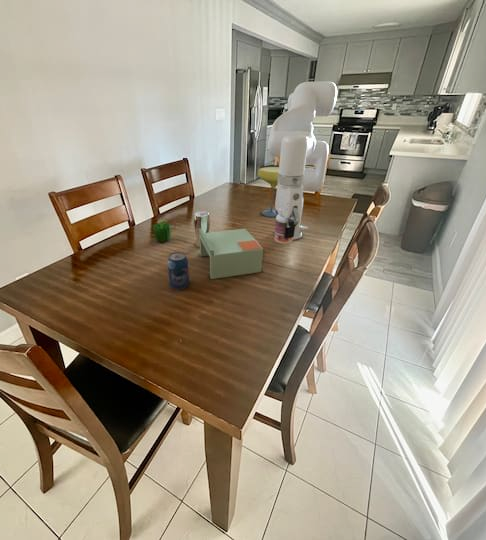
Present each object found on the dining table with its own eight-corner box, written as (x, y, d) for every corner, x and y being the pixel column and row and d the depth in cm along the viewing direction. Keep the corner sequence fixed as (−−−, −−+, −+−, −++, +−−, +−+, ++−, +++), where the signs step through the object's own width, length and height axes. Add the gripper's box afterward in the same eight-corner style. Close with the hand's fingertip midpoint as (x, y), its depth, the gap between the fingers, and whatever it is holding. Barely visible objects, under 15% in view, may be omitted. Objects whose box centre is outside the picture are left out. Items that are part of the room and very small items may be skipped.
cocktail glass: (291, 211, 172) (297, 167, 159) (279, 221, 158) (285, 174, 146) (263, 206, 180) (266, 163, 167) (249, 215, 167) (252, 169, 154)
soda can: (174, 292, 102) (171, 262, 96) (167, 283, 107) (164, 254, 101) (192, 287, 105) (190, 258, 99) (184, 278, 110) (182, 249, 104)
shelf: (244, 249, 130) (245, 224, 124) (261, 271, 114) (263, 243, 108) (200, 254, 126) (199, 229, 120) (211, 279, 109) (210, 250, 103)
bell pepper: (150, 242, 137) (147, 221, 132) (161, 235, 144) (158, 216, 139) (164, 245, 134) (162, 225, 129) (175, 238, 140) (173, 219, 135)
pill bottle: (290, 245, 97) (295, 212, 91) (272, 242, 99) (275, 210, 93) (293, 237, 102) (297, 206, 96) (275, 235, 104) (279, 204, 98)
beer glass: (208, 249, 131) (207, 217, 123) (193, 247, 132) (191, 216, 124) (211, 242, 137) (211, 211, 129) (197, 241, 138) (195, 210, 130)
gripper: (316, 186, 83) (307, 243, 93) (288, 172, 97) (282, 222, 107) (292, 188, 82) (285, 246, 91) (267, 173, 96) (263, 224, 105)
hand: (283, 232), depth 99 cm, fingers closed on pill bottle, 6 cm apart
